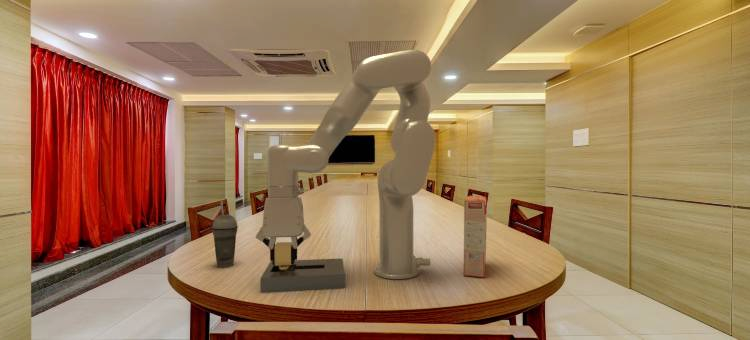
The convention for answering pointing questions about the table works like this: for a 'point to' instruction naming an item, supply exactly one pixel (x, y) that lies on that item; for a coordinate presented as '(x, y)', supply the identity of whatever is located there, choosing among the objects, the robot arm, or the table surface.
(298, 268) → the keyhole plate
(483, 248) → the cracker box
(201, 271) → the table surface
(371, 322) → the table surface
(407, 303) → the table surface
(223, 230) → the beverage cup
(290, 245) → the brass peg
